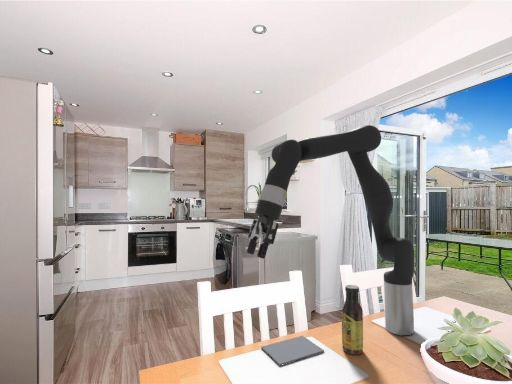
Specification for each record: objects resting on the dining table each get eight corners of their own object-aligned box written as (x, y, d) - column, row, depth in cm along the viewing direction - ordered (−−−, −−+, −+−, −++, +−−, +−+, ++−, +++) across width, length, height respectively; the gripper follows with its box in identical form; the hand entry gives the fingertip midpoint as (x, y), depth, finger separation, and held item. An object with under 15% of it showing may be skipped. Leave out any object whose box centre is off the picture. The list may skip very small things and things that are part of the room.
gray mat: (302, 337, 95) (302, 335, 95) (324, 352, 85) (323, 350, 85) (261, 348, 87) (261, 346, 87) (279, 366, 78) (279, 364, 78)
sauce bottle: (338, 346, 88) (337, 283, 89) (357, 345, 89) (355, 282, 90) (347, 357, 82) (346, 289, 83) (367, 355, 83) (365, 288, 84)
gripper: (293, 206, 77) (276, 263, 74) (272, 207, 90) (257, 255, 87) (269, 197, 75) (251, 255, 72) (251, 199, 88) (235, 248, 85)
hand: (254, 255), depth 80 cm, fingers open, 8 cm apart
